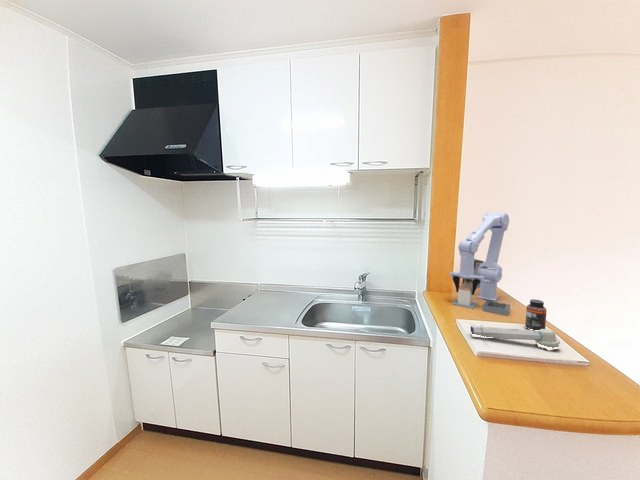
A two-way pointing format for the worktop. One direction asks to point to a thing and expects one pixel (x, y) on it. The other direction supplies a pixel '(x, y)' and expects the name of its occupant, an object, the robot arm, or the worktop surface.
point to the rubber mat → (465, 305)
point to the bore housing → (496, 307)
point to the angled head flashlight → (519, 334)
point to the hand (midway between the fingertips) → (465, 293)
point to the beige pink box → (465, 295)
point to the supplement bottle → (535, 315)
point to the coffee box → (469, 281)
